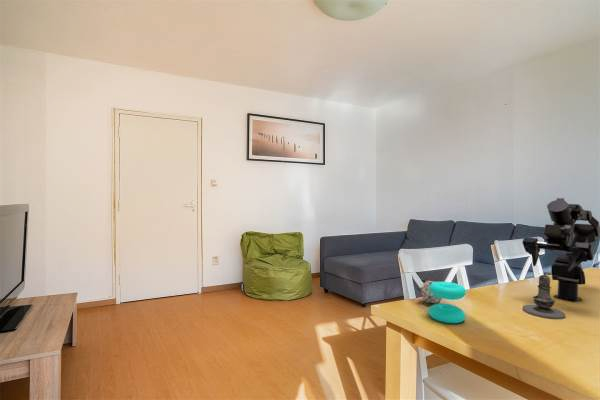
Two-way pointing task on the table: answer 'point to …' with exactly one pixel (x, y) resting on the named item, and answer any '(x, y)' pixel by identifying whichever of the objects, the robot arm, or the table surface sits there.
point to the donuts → (447, 311)
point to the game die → (428, 293)
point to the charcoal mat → (555, 315)
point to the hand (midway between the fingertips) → (550, 267)
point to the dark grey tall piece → (544, 295)
